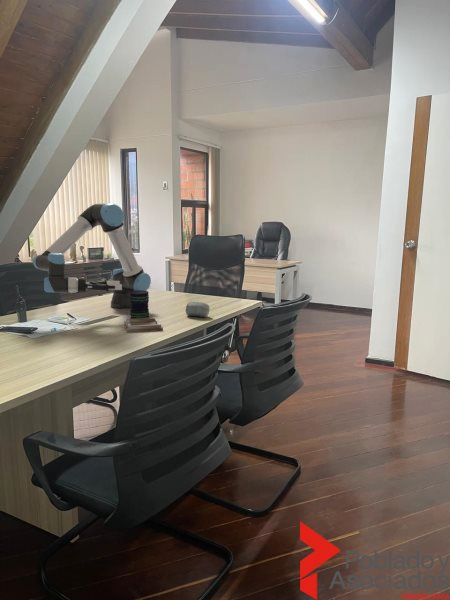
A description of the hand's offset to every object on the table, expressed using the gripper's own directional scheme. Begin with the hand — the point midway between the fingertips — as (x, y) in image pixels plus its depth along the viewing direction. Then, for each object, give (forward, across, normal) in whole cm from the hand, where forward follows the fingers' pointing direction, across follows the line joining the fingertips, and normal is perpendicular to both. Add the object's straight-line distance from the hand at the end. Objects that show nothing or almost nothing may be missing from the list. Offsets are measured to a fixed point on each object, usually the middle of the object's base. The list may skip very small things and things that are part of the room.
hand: (120, 285), depth 223 cm
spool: (+42, 0, -18) cm, 46 cm away
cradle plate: (+10, +17, -19) cm, 27 cm away
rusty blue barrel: (+10, 0, -18) cm, 21 cm away
